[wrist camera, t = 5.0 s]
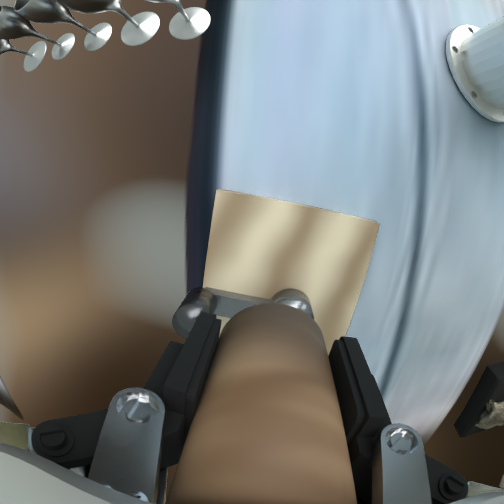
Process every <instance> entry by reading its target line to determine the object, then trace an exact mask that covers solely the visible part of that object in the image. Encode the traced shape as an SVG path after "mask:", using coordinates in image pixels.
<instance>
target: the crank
mask: <svg viewBox="0 0 504 504" xmlns="http://www.w3.org/2000/svg"><path fill="white" fill-rule="evenodd" d="M266 303H277V304H285V305H289V306H292V307H295V308H297V309H299V310H301V311H303V312H305V313H306V314H308V315H309V316H310V317H311V318H312V319H313V320H314V315H313V311H312V307H311V303H310V300H309V298H308V296H307V295H306V294H305V293H304V292H302V291H300V290H298V289H294V288H288V289H283V290H281V291H279V292H277V293H276V294H275V295H274V296H273V297H272V298H271V299H266V298H260V297H255V296H250V295H244V294H239V293H234V292H229V291H224V290H219V289H214V288H209V287H205V288H194V289H192V290H191V291H190V292H189V293H188V294H187V296H186V297H185V299H184V300H183V302H182V303H181V305H180V306H179V308H178V309H177V311H176V312H175V314H174V316H173V319H172V324H173V327H174V329H175V331H176V332H177V333H178V334H179V335H180V336H182V337H183V338H186V339H187V337H188V335H189V333H190V331H191V329H192V328H193V326H194V324H195V322H196V320H197V318H198V316H199V314H200V312H201V311H203V312H207V313H212V314H216V315H217V316H222V317H227V318H232V317H233V316H234V315H235V314H237V313H238V312H240V311H242V310H244V309H246V308H248V307H251V306H254V305H259V304H266Z"/></svg>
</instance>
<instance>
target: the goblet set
mask: <svg viewBox="0 0 504 504" xmlns="http://www.w3.org/2000/svg"><path fill="white" fill-rule="evenodd" d="M146 1H150V2H169V3H171V4H172V5H174V6H175V7H176V8H177V9H178V10H179V12H178V13H177V14H176V15H175V16H174V17H173V18H172V20H171V22H170V24H169V31H170V33H171V35H172V36H173V37H175V38H177V39H181V40H189V39H193V38H196V37H198V36H200V35H201V34H203V33H204V32H205V31H206V30H207V28H208V27H209V25H210V21H211V18H210V15H209V13H208V12H207V11H206V10H204V9H202V8H198V7H192V8H187V9H183V7H182V5H181V2H180V0H146ZM120 2H121V0H16V2H15V4H14V7H10V6H2V5H0V55H1V54H3V53H5V52H9V51H12V52H19V53H23V54H25V55H26V57H25V60H24V69H25V70H26V71H28V72H29V71H32V70H34V69H35V68H36V67H37V66H38V65H39V64H40V63H41V61H42V60H43V58H44V55H45V53H46V43H45V42H44V41H39V42H37V43H36V44H34V45H33V46H32V47H31V48H30V50H29V51H28V52H25V51H22V50H19V49H17V48H15V47H14V46H12V45H11V44H10V42H9V39H17V38H23V37H36V38H40V39H43V40H46V41H49V42H51V43H54V44H55V45H54V47H53V50H52V56H53V58H54V59H56V60H59V59H62V58H63V57H64V56H66V55H67V54H68V53H69V52H70V50H71V49H72V47H73V44H74V41H75V38H74V35H73V34H72V33H67V34H64V35H63V36H61V37H60V38H59V39H58V40H57V42H56V41H54V40H52V39H49V38H48V37H46V36H44V35H42V34H40V33H39V32H37V31H36V30H35V29H34V28H33V26H32V25H31V23H30V21H32V22H36V23H41V24H52V23H69V24H73V25H75V26H78V27H80V28H82V29H83V30H85V31H87V32H88V34H87V36H86V38H85V41H84V45H85V48H86V49H87V50H89V51H94V50H97V49H99V48H100V47H102V46H103V45H104V44H105V43H106V42H107V41H108V40H109V38H110V36H111V33H112V27H111V26H110V25H109V24H108V23H101V24H98V25H96V26H95V27H93V28H92V29H91V30H89V29H88V28H86V27H85V26H83V25H82V24H80V23H79V22H78V21H77V20H76V19H75V18H74V17H73V16H72V14H71V12H70V10H69V9H71V10H73V11H76V12H79V13H86V14H94V13H101V12H105V11H115V12H117V13H119V14H121V15H122V16H123V17H125V18H126V19H127V20H128V21H127V22H126V24H125V25H124V27H123V29H122V32H121V39H122V41H123V42H124V43H125V44H126V45H130V46H136V45H140V44H143V43H145V42H146V41H148V40H149V39H151V38H152V37H153V36H154V35H155V33H156V32H157V30H158V28H159V25H160V20H159V17H158V16H157V15H156V14H155V13H153V12H142V13H139V14H137V15H135V16H133V17H132V18H131V17H130V16H129V15H128V14H127V13H126V12H125V10H124V9H123V8H122V6H121V3H120Z"/></svg>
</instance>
